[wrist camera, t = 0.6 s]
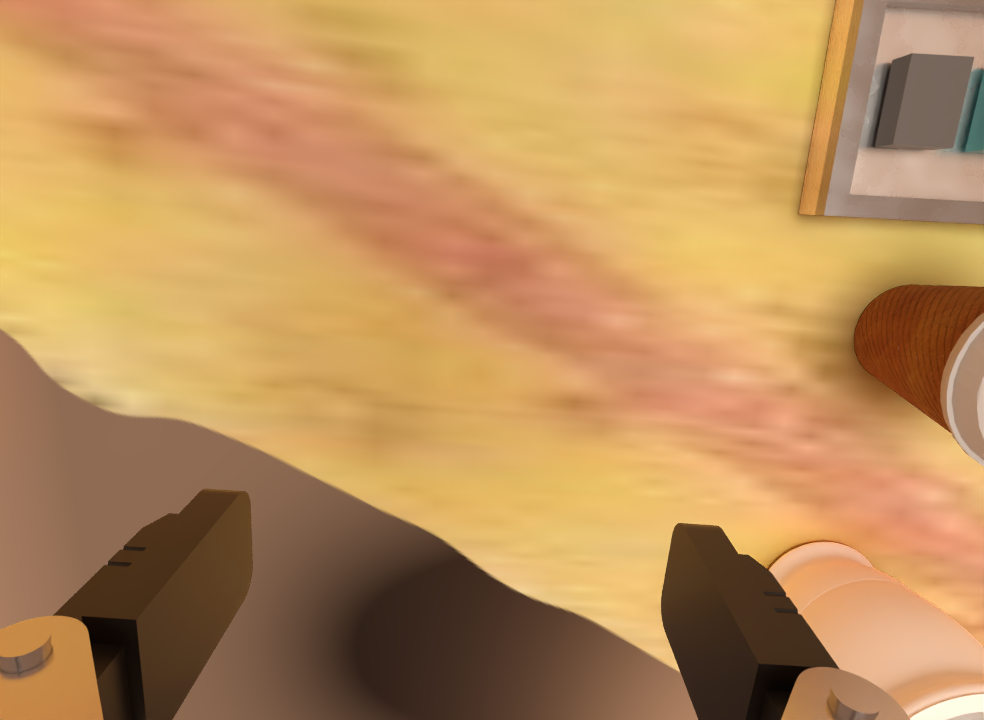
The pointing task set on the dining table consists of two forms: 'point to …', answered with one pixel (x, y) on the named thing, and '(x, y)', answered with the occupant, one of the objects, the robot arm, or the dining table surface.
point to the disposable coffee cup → (931, 354)
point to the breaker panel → (858, 107)
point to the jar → (885, 632)
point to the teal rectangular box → (977, 125)
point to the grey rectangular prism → (924, 101)
